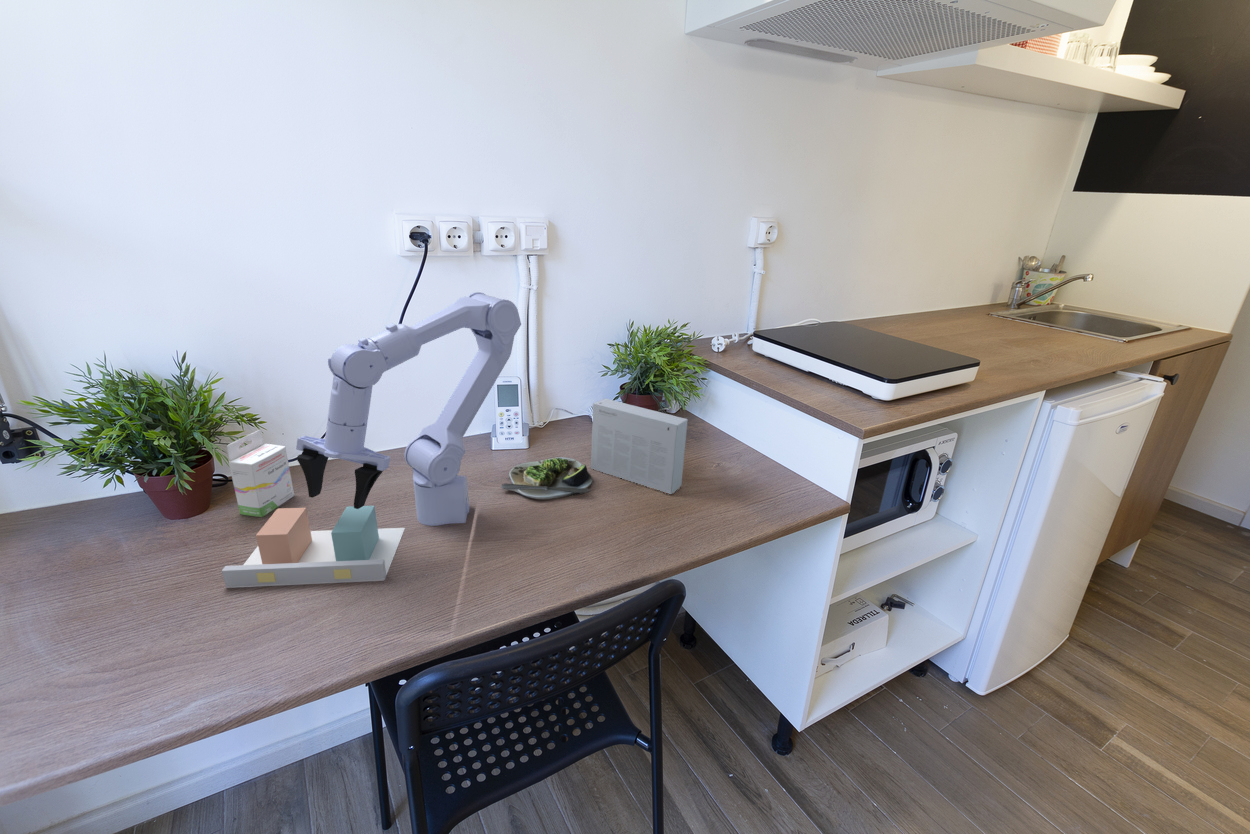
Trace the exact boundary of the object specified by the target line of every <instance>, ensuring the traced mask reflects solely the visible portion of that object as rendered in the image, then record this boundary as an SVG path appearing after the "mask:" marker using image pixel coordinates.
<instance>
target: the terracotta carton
mask: <svg viewBox="0 0 1250 834" xmlns="http://www.w3.org/2000/svg"><path fill="white" fill-rule="evenodd" d="M309 521H310V520H309V516H308V511H307V507H290V508H289V507H286V508H285V507H282V508H279V507H277V508H276V509H275V510H274V512H273V514H272V515H271V516H270V517H269V518H268V519H267V521H266V522H265V523H264V525H262V527H261V528H260V529H259V531H258V532H257V533H256V535H255V538H256V542H257V547H259V552H260V556H261V560H262V564H283V563H298V562H299V560H300V559H301V557H302V556H303V554H304V552H305V551H306V549H307V548H308V546H309V545H310V543H311V542H312V537H311V531H312V530H311V527H310V523H309Z"/></svg>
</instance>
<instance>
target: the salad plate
mask: <svg viewBox="0 0 1250 834" xmlns="http://www.w3.org/2000/svg"><path fill="white" fill-rule="evenodd" d="M508 476H509V479H510V481H511V483H502V484H501V486H500V488H501V490H506V491H512V492H515V493H518V494H520V495H521V496H524V497H527V498H532V499H535V500H545V501H546V500H553V499H558V498H559V499H560V498H565V497H566V496H567V497H571V496H572V495H573V496H577V495H582V494H585V493H590V492H591V491H592V490H591V489H590V488H591V486H592V485H593V483H594V480H593V477H592V475H591V474H590V473H589V471H588V467H587V465H586V464H582V463H581V462H580V461H578V460H577V459H575V458H571V457H565V456H563V457H559V456H558V457H552V458H548V459H542V460H538V461H537V460H536V461H530V462H523V463H520V464H519V463H518V464H517V465H514V467H513V468H512V469H511V470H510V471H509V472H508ZM581 493H582V494H581ZM567 497H566V498H567Z"/></svg>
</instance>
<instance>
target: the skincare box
mask: <svg viewBox="0 0 1250 834" xmlns="http://www.w3.org/2000/svg"><path fill="white" fill-rule="evenodd" d="M688 422H689V421H688V418H683V417H680V416H675V415H672V414H668V413H664V412H660V411H657V410H652V409H648V408H645V407H640V406H637V405H633V404H628V403H624V402H620V401H617V400H614V399H610V398H602V399H600V400H598V401H596V402H593V403H592V428H591V452H590V453H591V456H590V457H591V458H590V470H593V469H594V471H596V470H597V472H599V471H600V473H602V472H603V474H605V473H606V474H605V475H608V474H610V475H609V476H611V475H613V476H612V477H614V476H616V477H615V478H617V477H619V478H618V479H620V478H622V479H621V480H623V479H625V480H624V481H626V480H628V481H627V482H629V481H631V482H630V483H633V482H635V483H634V484H636V483H638V484H637V485H639V484H641V485H640V486H642V485H644V486H643V487H645V486H647V487H646V488H648V487H650V488H649V489H651V488H654V489H657V490H660V491H663V492H666V493H669V494H672V493H673V492H674V493H676V492H677V491H678V490H679V489H680V488H679V487H680V486H681V487H682V485H683V484H682V483H683V472H684V461H685V453H686V452H685V451H686V443H687V432H688V431H687V430H688ZM678 488H679V489H678ZM654 489H653V490H654ZM677 489H678V490H677ZM657 490H656V491H657ZM676 490H677V491H676ZM660 491H659V492H660ZM675 491H676V492H675ZM663 492H662V493H663ZM666 493H665V494H666ZM674 493H673V494H674ZM669 494H668V495H669ZM673 494H672V495H673Z"/></svg>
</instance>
